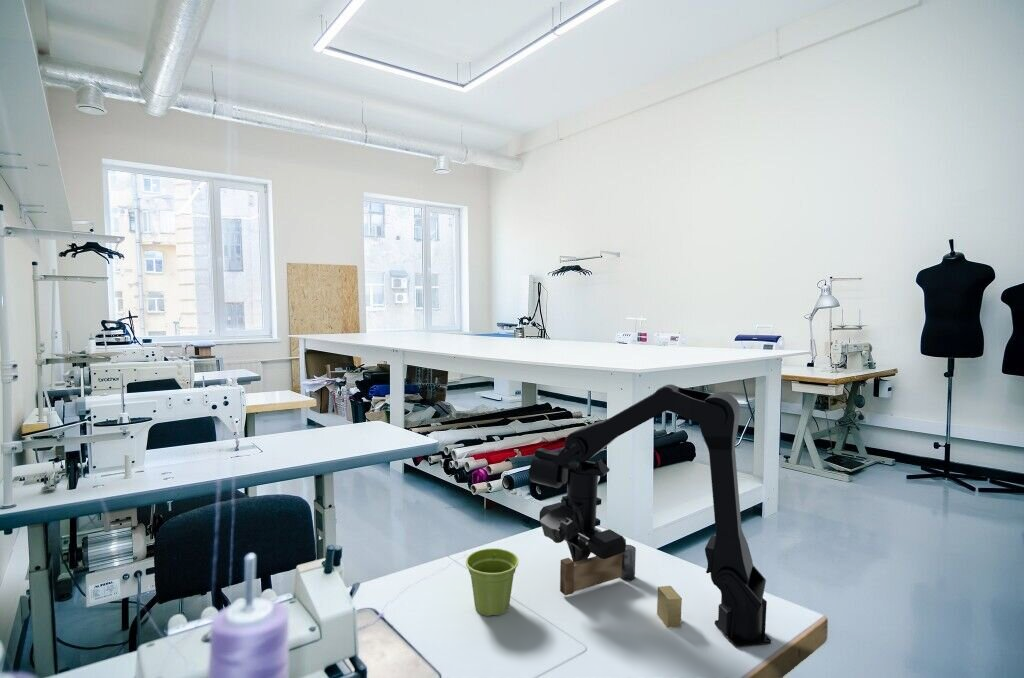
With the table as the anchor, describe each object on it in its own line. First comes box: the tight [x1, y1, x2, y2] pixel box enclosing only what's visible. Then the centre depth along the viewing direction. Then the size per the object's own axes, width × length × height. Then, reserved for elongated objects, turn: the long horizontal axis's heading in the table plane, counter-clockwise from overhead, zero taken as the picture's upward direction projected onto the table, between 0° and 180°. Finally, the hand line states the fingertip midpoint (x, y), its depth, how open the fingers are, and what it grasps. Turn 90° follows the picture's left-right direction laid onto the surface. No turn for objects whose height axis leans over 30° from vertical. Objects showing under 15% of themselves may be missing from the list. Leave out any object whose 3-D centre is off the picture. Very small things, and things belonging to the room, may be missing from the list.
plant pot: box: [465, 547, 520, 617], centre depth 94 cm, size 9×9×9 cm
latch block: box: [656, 585, 683, 629], centre depth 91 cm, size 2×4×5 cm, turn 10°
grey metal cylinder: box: [619, 544, 637, 582], centre depth 105 cm, size 3×3×6 cm
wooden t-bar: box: [559, 553, 622, 596], centre depth 101 cm, size 14×2×6 cm, turn 119°
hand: (578, 570), depth 103 cm, fingers closed
